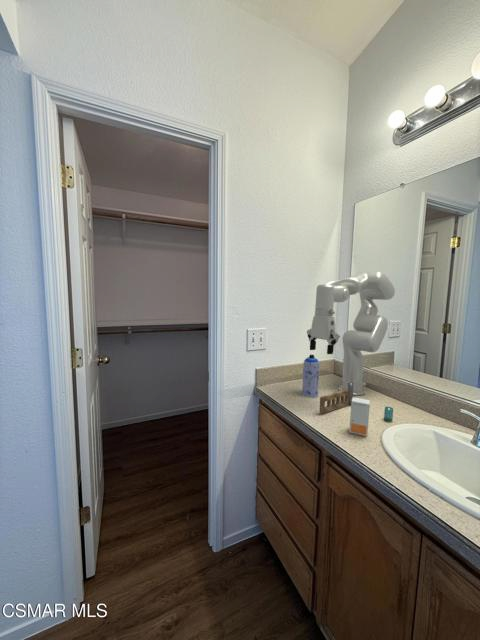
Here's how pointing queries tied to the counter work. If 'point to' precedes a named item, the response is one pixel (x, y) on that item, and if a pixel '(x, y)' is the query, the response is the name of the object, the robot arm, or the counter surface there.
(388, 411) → the teal elongated shape
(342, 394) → the gate
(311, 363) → the aerosol can
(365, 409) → the skincare box
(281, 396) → the counter surface
